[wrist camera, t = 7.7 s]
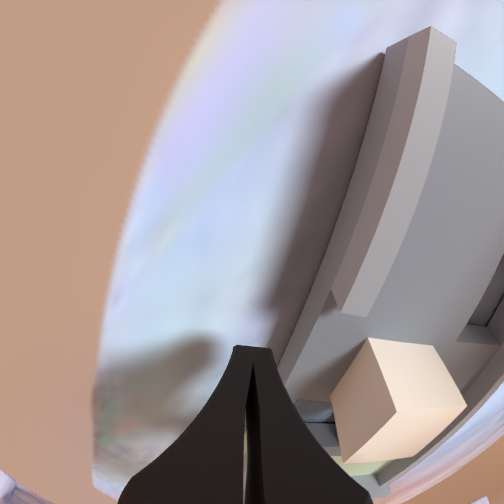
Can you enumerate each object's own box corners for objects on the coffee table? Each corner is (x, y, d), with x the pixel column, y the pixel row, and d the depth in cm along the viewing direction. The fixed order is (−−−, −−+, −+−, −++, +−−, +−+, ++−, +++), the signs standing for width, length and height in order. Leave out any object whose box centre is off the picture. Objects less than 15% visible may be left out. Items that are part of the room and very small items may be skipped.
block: (432, 345, 12) (467, 405, 8) (392, 398, 13) (413, 456, 9) (367, 337, 11) (397, 411, 8) (330, 395, 13) (342, 463, 9)
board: (556, 177, 9) (605, 199, 5) (376, 460, 21) (384, 497, 17) (386, 48, 8) (448, 18, 4) (232, 456, 20) (228, 502, 15)
